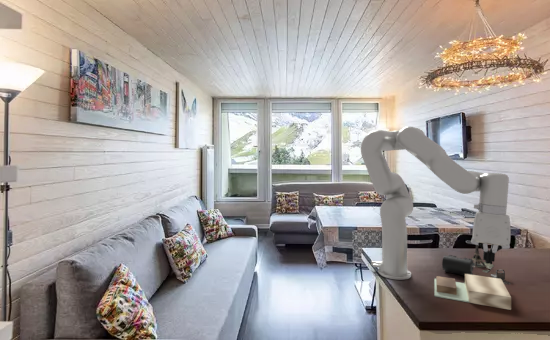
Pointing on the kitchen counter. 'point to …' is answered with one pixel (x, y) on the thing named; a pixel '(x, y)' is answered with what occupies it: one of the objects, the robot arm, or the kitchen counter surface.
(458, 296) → the mat
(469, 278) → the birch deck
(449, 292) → the brown box
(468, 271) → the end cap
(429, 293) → the kitchen counter surface
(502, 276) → the strap clip
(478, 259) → the eiffel tower figurine
